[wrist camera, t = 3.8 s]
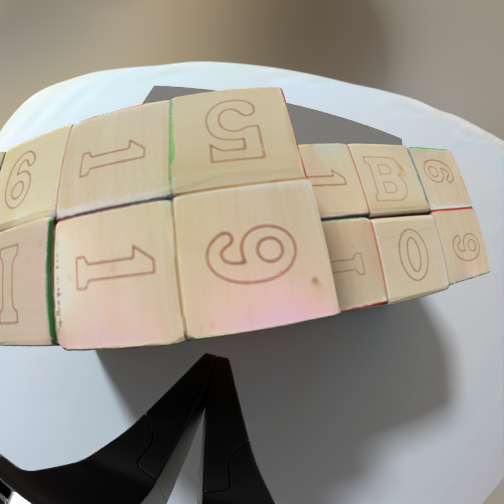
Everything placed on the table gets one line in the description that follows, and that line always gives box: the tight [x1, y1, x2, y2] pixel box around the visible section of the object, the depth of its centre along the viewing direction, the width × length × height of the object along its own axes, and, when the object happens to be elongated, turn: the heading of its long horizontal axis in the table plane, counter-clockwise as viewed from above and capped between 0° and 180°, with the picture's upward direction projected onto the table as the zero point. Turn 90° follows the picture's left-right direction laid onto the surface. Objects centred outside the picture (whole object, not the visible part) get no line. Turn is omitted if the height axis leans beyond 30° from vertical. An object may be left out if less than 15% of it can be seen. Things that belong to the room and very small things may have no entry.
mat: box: [143, 86, 402, 145], centre depth 21 cm, size 13×24×1 cm, turn 78°
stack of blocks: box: [0, 87, 490, 351], centre depth 12 cm, size 21×6×12 cm, turn 98°
